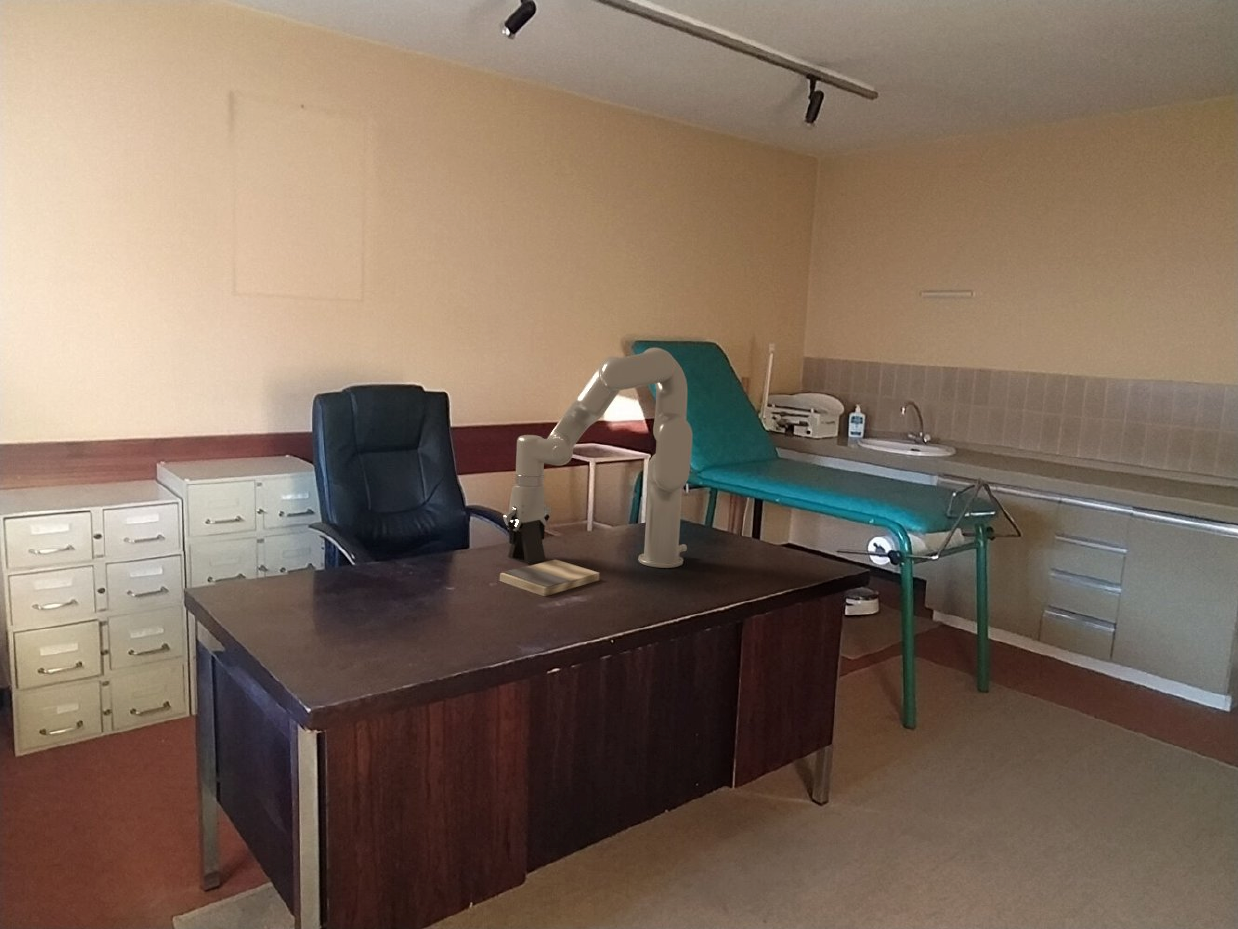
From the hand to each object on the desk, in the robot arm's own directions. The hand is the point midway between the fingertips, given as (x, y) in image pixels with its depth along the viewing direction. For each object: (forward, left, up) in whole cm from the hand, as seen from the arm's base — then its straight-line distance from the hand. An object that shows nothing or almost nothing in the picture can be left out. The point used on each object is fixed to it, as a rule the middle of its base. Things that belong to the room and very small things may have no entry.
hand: (526, 541), depth 247 cm
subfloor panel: (+9, +18, -5) cm, 21 cm away
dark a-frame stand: (0, 0, -5) cm, 5 cm away
